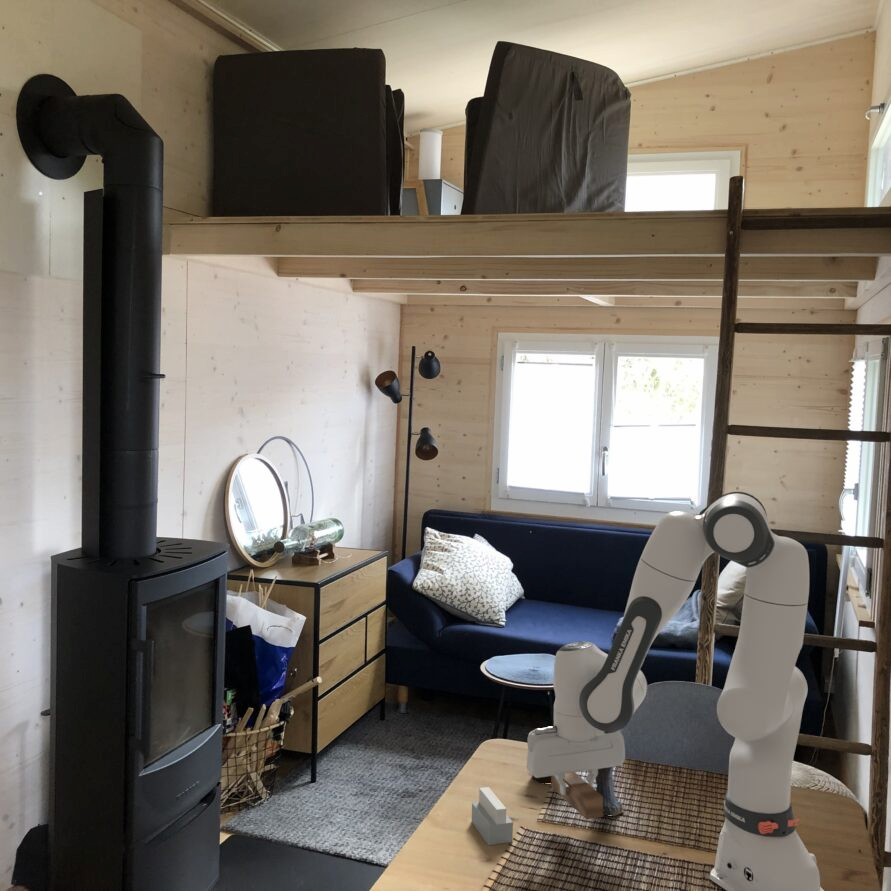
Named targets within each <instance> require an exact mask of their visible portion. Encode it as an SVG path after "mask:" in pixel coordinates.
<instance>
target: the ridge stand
mask: <svg viewBox="0 0 891 891" xmlns="http://www.w3.org/2000/svg"><path fill="white" fill-rule="evenodd" d="M478 790H479V791H478V793H479V795H478V802H472V803H471V823H472V824H473V825H474V828H476V830H477V831H478V833H479V835H481V837H482V838H483V840H484V841H485V842H486V844H487V845H488V846H492V845H500V844H508V843H513V837H514V836H513V834H514V833H513V832H514V821H512V819H511V818H510V817H509V816H508V814H507V808H506V807H505V805H504V804H503V803H502V802H501V800H500V799H499V798H498V797H497V796H496V795H497V794H495V793H494V792H493V791H492V790H491V788H490V787H489V786H488V787H487V786H486V787H485V786H484V787H479V789H478Z"/></svg>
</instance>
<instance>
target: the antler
mask: <svg viewBox="0 0 891 891" xmlns="http://www.w3.org/2000/svg"><path fill="white" fill-rule="evenodd" d="M613 769H614V767H608V768H601V769H598V775H597V777H596V778H595V784H596V788H595V790H596V791H597V792H598V793H600V794H601V795H602V796H603V815H612V816H613V817H616V816H618V815H621V814H622V813H623V812H625V810H624V808H623V803H622V801H619V799H618V797H616V796H615V787H614V777H613V771H614V770H613Z"/></svg>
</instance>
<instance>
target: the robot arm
mask: <svg viewBox="0 0 891 891" xmlns="http://www.w3.org/2000/svg"><path fill="white" fill-rule="evenodd" d="M713 553H716V554H717V555H719V556H720V557H722V558H724V559H726V560H729V561H731V562H734V563H736V564H738V565H740V566H742V567H745V573H746V574H745V576H746V577H745V584H744V593H743V603H742V610H741V616H740V618H741V619H740V626H739V632H738V635H737V636H738V638H737V641H736V644H735V647H734V648H735V649H734V651H733V654H732V659H731V660H730V664H729V669H728V671H727V674H726V679H725V683H724V685H723V686H724V687H723V690H722V692H721V694H720V695H719V698H718V701H717V704H716V714H717V715H716V716H717V718H718V721H719V723H720V725H721V726H722V727H723V729H724V730H725V732H727V734H729V735H730V736H732V737H734V738H735V739H734V742H733V745H732V747H731V749H730V751H729V752H730V753H729V756H728V757H729V759H728V778H727V779H728V780H727V792H725V796H724V800H723V814H724V817H725V820H724V823H723V826H722V828H721V831H720V833H719V836H718V841H717V842H718V843H717V846H716V847H717V849H716V855H715V861H714V867H713V868H712V869H711V871H710V872H709V880H711V881H712V882H713V883H715V884H717V885H718V886H719V887H721V888H723V889H724V890H725V891H825V890H824V889H823V888H822V887H821V876H820V870H819V868H818V865H817V863H818V862H817V857H816V856H815V854H814V853H810V852H809V851H808V849H807V848H806V846H805V845H804V843H803V841H802V839H801V838H800V836H799V834H798V833H797V830H796V829H797V826H799V825H800V824H799V823H798V822H799V821H800V819H799V818H795V816H794V815H795V813H794V809H793V806H792V803H791V788H792V773H793V763H794V758H795V757H794V756H795V752H796V749H797V748H796V747H797V743H798V739H799V733H800V729H801V723H802V716H803V710H804V707H805V706H804V705H805V702H806V698H807V696H808V689H809V688H808V683H807V682H808V681H807V680H806V678H805V676H804V673H803V672H802V671H801V670H800V669H799V668H798V667H797V666H796V663H797V660H798V657H799V654H800V652H801V650H802V648H803V645H804V637H805V636H804V635H805V630H806V629H805V628H806V622H807V611H808V605H809V604H808V603H809V596H810V562H809V555H808V550H807V549H806V548H805V546H804V545H803V544H801V543H800V542H798V541H797V540H795V539H793V538H790V537H788V536H779V535H777V534H776V533H774V532H773V531H772V530H771V529H770V525H769V521H768V514H767V512H766V509H765V506H764V504H762V502H761V501H760V500H759V499H758V498H756V497H755V496H754V495H753V494H750V493H747V492H743V491H731V492H727V493H725V494H723V495H722V494H721V496H719V497H718V498H716V499H715V500H714V501H713V502H711V503H709V505H707V506H706V507H704V508H703V509H702V510H701V511H699V515H697V514H695V513H690V512H688V511H684V510H683V511H682V510H675V511H670V512H667V513H666V514H664V515H663V516H662V517H661V518H660V520H659V521H658V523H657V524H656V526H655V527H654V530H653V531H652V533H651V535H650V536H649V538H648V540H647V542H646V544H645V547H644V549H643V550H642V554H641V555H640V558H639V560H638V563H637V566H636V568H635V573H634V575H633V578H632V583H631V588H630V591H629V596H628V598H627V601H626V602H627V603H626V607H625V610H624V613H623V617H622V621H621V624H620V626H619V628H618V631H617V633H616V636H615V638H614V640H613V642H612V645H611V648H610V650H609V651H608V653H606V652H605V651H602V650H601V649H600V648H599V647H598V646H597V645H596V644H595V643H594V642H590V641H585V640H582V641H574V642H570V643H567V644H565V645H563V646H561V647H560V648H559V649H558V650H557V651H556V654H555V657H554V664H553V690H554V696H555V700H554V703H553V726H547V727H542V728H540V727H538V728H534V729H533V730H534V731H533V730H532V731H533V732H531V731H530V732H531V733H530V732H529V733H530V734H529V733H528V736H527V754H526V756H527V758H526V769H527V771H528V773H530V775H531V776H532V775H533V776H534V777H536V778H540V777H547V776H553V775H554V776H555V778H556V779H557V781H558V783H559V784H560V793H561V794H562V795H567V794H570V786H569V785H568V784H567V783H564V781H563V779H565V774H567V773H574V772H575V773H580V772H586V771H587V773H588V774H587V775H586V777H585V779H583V780H584V781H586V782H587V783H588V784H589V785H590V786H591V787H593V788H594V786H593V785H594V782H595V781H596V777H597V775H598V769H601V768H608V767H613V768H615V767H620V766H622V765H623V764H624V762H625V761H626V746H625V739H624V736H623V734H622V733H621V731H622V729H625V727H627V725H628V724H629V723H630V721H631V719H632V717H633V716H634V713H635V712H637V710H638V708H639V707H640V705H641V704H642V703H643V701H644V700H645V698H646V696H647V693H648V689H649V688H648V681H647V678H646V676H645V674H644V672H643V670H642V669H641V668H642V666H643V664H644V661H645V658H646V657H647V654H648V652H649V650H650V648H651V646H652V644H653V642H654V641H655V639H656V638H657V636H658V635H659V633H660V632H661V631H662V630H663V629H664V627H665V626H667V624H669V622H670V621H672V619H674V617H675V616H676V615H677V614H678V613H679V611H680V610H681V608H683V605H684V604H685V603H686V602H687V600H688V598H689V596H690V594H691V593H692V591H693V589H694V587H695V584H696V582H697V580H698V577H699V574H700V572H701V570H702V568H703V566H704V563H705V562H706V560H707V559H708V557H710V556H711V555H712V554H713ZM534 733H535V734H534ZM562 778H563V779H562Z"/></svg>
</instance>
